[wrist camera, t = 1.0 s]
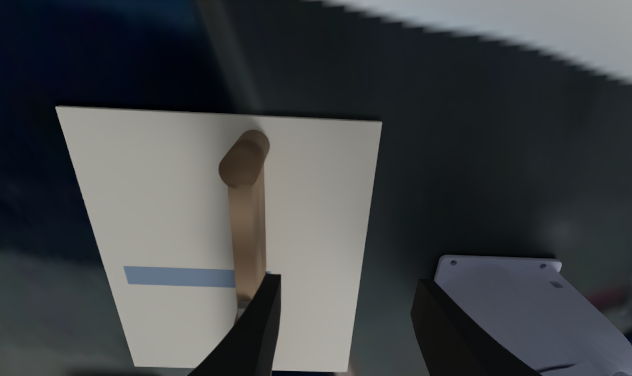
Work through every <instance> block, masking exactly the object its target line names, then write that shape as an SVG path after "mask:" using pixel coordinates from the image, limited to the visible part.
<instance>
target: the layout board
mask: <svg viewBox="0 0 632 376" xmlns="http://www.w3.org/2000/svg"><path fill="white" fill-rule="evenodd" d="M56 111H57V114H58V117H59V120H60V124H61V127H62V130H63V133H64V137H65V140H66V143H67V146H68V150H69V153H70V156H71V160H72V163H73V166H74V169H75V173H76V176H77V179H78V182H79V186H80V189H81V192H82V195H83V199H84V202H85V205H86V209H87V212H88V215H89V218H90V222H91V225H92V228H93V231H94V235H95V238H96V241H97V244H98V248H99V251H100V254H101V258H102V261H103V264H104V267H105V271H106V274H107V277H108V280H109V284H110V287H111V290H112V294H113V297H114V300H115V303H116V307H117V310H118V313H119V316H120V320H121V323H122V326H123V329H124V333H125V336H126V339H127V343H128V346H129V349H130V352H131V356H132V359H133V362H134V365H135V366H142V367H179V368H196V367H197V366H198V365H199V364H200V363H201V362H202V361H203V360H204V359H205V358H206V357H207V356H208V355H209V354H210V353H211V352H212V351H213V349H214V348H215V347H216V346H217V345H218V344H219V343H220V342H221V340H222V339H223V338H224V337H225V336H226V335H227V333H228V332H229V331H230V330H231V328H232V327H233V326H234V321H235V318H236V314H237V296H236V284H235V271H234V259H233V247H232V234H231V222H230V209H229V197H228V186H227V185H226V184H225V183H224V182H223V181H222V179H221V178H220V175H219V171H218V168H219V164H220V162H221V160H222V159H223V157H224V156H225V155H226V154H227V152H228V151H229V150H230V149H231V147H232V146H233V145H234V144H235V142H236V141H237V140H238V139H239V137H240V136H241V135H242V134H243V133H244V132H246V131H248V130H258V131H260V132H262V133H263V134H265V135H266V137H267V138H268V140H269V143H270V149H269V152H268V154H267V157H266V159H265V162H264V185H265V227H266V271H265V272H267V273H268V274H281V316H280V326H279V335H278V340H277V345H276V350H275V355H274V359H273V366H272V370H288V371H324V372H347V367H348V360H349V353H350V346H351V339H352V332H353V325H354V318H355V311H356V304H357V297H358V289H359V282H360V275H361V268H362V261H363V254H364V247H365V240H366V233H367V226H368V219H369V212H370V205H371V197H372V190H373V183H374V176H375V169H376V162H377V155H378V148H379V141H380V134H381V127H382V122H381V121H368V120H347V119H327V118H306V117H285V116H264V115H244V114H223V113H202V112H181V111H161V110H140V109H119V108H99V107H78V106H57V107H56Z"/></svg>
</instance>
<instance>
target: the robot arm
mask: <svg viewBox="0 0 632 376" xmlns="http://www.w3.org/2000/svg"><path fill="white" fill-rule="evenodd" d="M454 260H455V261H454ZM451 261H454V262H452V263H451ZM541 264H542V265H541ZM561 266H562V263H561V262H560V261H559V260H557V259H545V258H518V257H491V256H464V255H444V256H442V257H441V258H440V259H439V263H438V266H437V270H436V274H435V277H434V280H431V279H419V281H418V285H417V289H416V294H415V298H414V302H413V306H412V310H411V318H412V322H413V327H414V331H415V335H416V338H417V341H418V344H419V347H420V350H421V352H422V355H423V358H424V360H425V363H426V366H427V369H428V371H429V374H430V376H632V346H631V344H630V342H629V341H628V340H627V339H626V337H625V336H624V335H623V334H622V333H621V332H620V331H619V330H618V329H617V328H616V327H615V326H614V325H613V324H612V323H611V322H610V321H609V320H608V319H607V318H606V317H605V316H604V315H602V314H601V313H600V312H599V311H598V310H597V309H596V308H595V307H594V306H593V305H592V304H591V303H590V302H589V301H588V300H587V299H585V298H584V297H583V296H582V295H581V294H580V293H579V292H578V291H577V290H576V289H575V288H574V287H573V286H572V285H571V284H570V283H568V282H567V281H566V280H565V279H564V278H563V277H562V276H561V275H560V274H559V271H560V269H561ZM280 316H281V274H266V275H265V276H264V278H263V280H262V282H261V284H260V286H259V288H258V290H257V291H256V293H255V295H254V296H253V298H252V300H251V301H250V303H249V304H248V306H247V307H246V309H245V310H244V312H243V313H242V315H241V316H240V317H239V319H238V320H237V322H236V323H235V324H234V326H233V327H232V328H231V330H230V331H229V332H228V333H227V335H226V336H225V337H224V338H223V339H222V340H221V342H220V343H219V344H218V345H217V346H216V347H215V348H214V349H213V351H212V352H211V353H210V354H209V355H208V356H207V357H206V358H205V359H204V360H203V361H202V362H201V363H200V364H199V365H198V366H197V367H196V368H195V369H194V370H193V371H192V372H191V373H190V374H188V375H187V376H270V374H271V369H272V364H273V359H274V355H275V350H276V345H277V340H278V335H279V326H280Z"/></svg>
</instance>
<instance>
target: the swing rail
mask: <svg viewBox="0 0 632 376" xmlns="http://www.w3.org/2000/svg"><path fill="white" fill-rule="evenodd" d="M269 149H270V143H269V140H268V138H267V137H266V135H265V134H263V133H262V132H260V131H258V130H248V131H246V132H244V133H243V134H242V135H241V136H240V137H239V139H238V140H237V141H236V142H235V144H234V145H233V146H232V147H231V149H230V150H229V151H228V152H227V154H226V155H225V156H224V157H223V159H222V160H221V162H220V164H219V168H218V171H219V175H220V178H221V179H222V181H223V182H224V183H225V184H226V185H227V186H228V197H229V209H230V222H231V234H232V247H233V259H234V271H235V284H236V296H237V312H238V319H239V317H240V316H241V315H242V313H243V312H244V310H245V309H246V307H247V306H248V304H249V303H250V301H251V300H252V298H253V296H254V295H255V293H256V291H257V290H258V288H259V286H260V284H261V282H262V280H263V278H264V276H265V271H266V227H265V185H264V162H265V159H266V157H267V154H268V152H269Z"/></svg>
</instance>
